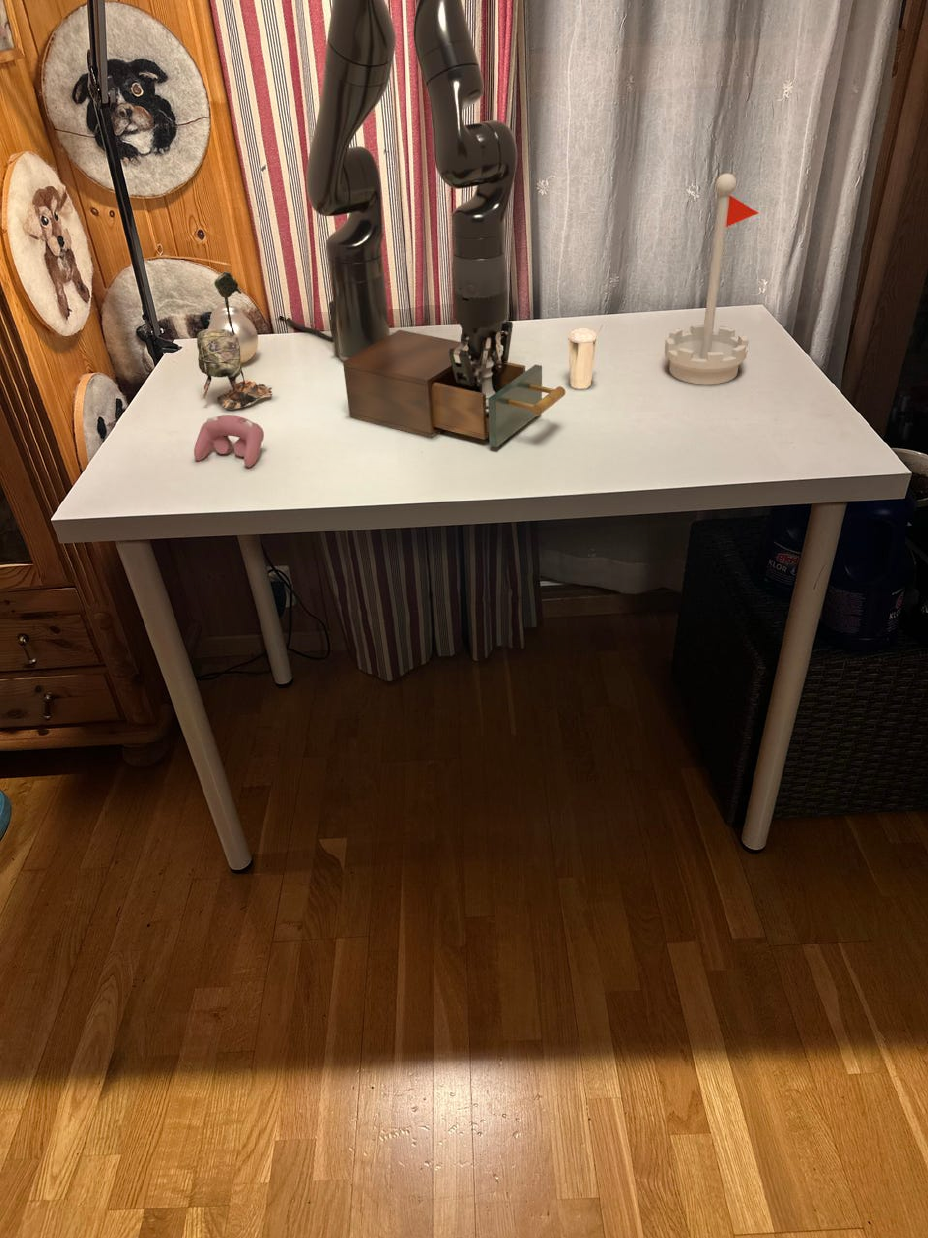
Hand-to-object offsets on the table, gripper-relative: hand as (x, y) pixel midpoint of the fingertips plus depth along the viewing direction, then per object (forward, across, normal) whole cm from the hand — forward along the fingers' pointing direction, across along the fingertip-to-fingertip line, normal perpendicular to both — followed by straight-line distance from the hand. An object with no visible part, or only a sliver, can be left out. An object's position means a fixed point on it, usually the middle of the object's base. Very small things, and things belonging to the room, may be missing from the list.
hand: (483, 400), depth 138 cm
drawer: (+3, 0, +2) cm, 4 cm away
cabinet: (+4, 0, -12) cm, 13 cm away
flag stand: (+4, -34, +22) cm, 40 cm away
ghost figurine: (+4, -1, -52) cm, 53 cm away
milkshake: (+4, -20, +6) cm, 21 cm away
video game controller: (+4, +26, -28) cm, 38 cm away
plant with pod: (+4, +11, -40) cm, 42 cm away
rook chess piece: (+1, 0, 0) cm, 1 cm away
